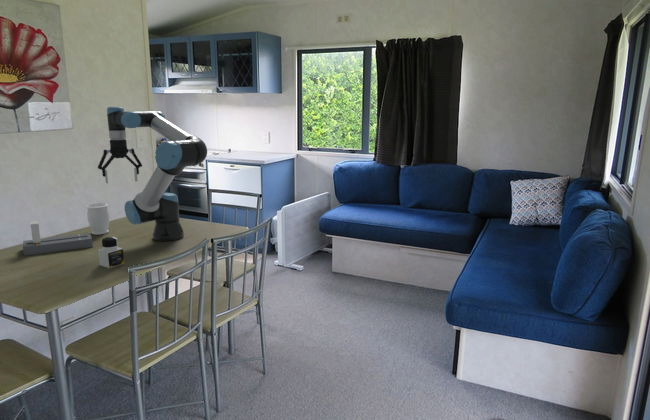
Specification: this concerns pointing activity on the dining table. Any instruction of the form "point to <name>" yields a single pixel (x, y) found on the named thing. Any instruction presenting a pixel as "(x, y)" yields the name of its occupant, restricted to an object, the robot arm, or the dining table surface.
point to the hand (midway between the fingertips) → (121, 182)
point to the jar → (98, 218)
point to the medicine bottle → (110, 253)
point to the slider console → (57, 244)
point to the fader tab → (35, 232)
